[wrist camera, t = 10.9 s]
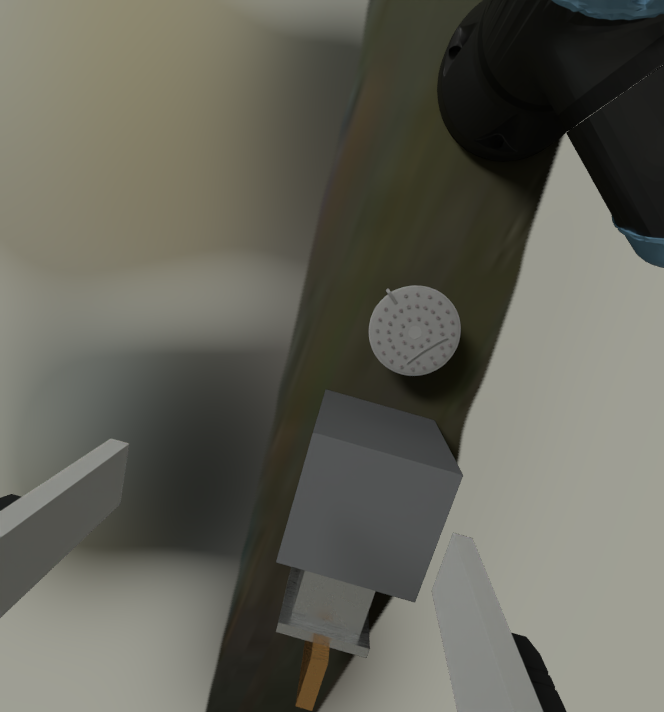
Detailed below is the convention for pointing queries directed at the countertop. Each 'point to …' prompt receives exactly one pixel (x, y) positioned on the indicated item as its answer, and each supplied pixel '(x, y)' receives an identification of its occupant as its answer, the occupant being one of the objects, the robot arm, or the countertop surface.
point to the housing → (371, 497)
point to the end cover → (323, 624)
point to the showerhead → (414, 330)
